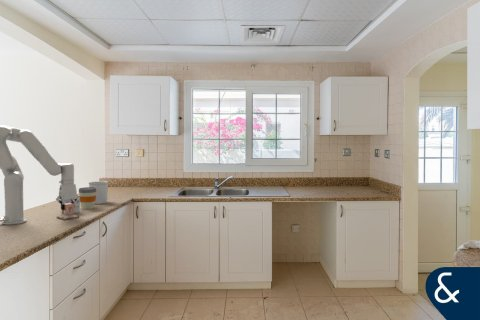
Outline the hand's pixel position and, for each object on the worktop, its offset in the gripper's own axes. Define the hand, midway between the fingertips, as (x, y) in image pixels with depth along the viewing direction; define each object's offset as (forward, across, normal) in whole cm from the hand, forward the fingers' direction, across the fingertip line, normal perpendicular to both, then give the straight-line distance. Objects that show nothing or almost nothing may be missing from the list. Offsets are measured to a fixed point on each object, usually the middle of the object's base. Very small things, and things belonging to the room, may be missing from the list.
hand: (67, 209), depth 221 cm
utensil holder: (+6, +44, +36) cm, 57 cm away
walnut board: (+6, 0, 0) cm, 6 cm away
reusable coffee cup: (+6, +27, +23) cm, 36 cm away
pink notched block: (+3, 0, 0) cm, 3 cm away
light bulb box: (+6, +9, +14) cm, 18 cm away
